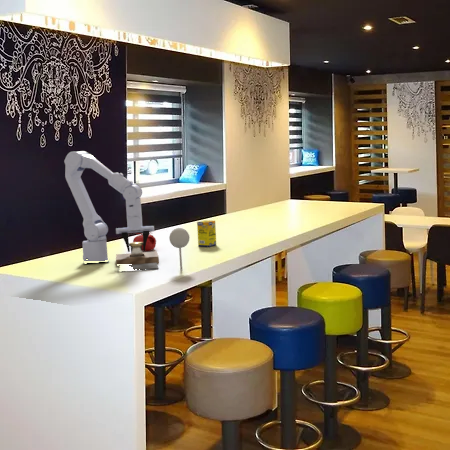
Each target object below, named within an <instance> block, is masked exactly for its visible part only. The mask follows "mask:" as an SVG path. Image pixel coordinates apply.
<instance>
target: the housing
mask: <svg viewBox="0 0 450 450" xmlns="http://www.w3.org/2000/svg"><path fill="white" fill-rule="evenodd" d="M142 253H143V256H140V257H131V252H128V253H117V254H116V255H115V264H145V263H157V264H159V263H160V256H159V254H158V252H157V250H156V251H142Z"/></svg>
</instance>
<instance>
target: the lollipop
mask: <svg viewBox="0 0 450 450" xmlns="http://www.w3.org/2000/svg"><path fill="white" fill-rule="evenodd" d="M169 242H170V244H171V246H173V247H174V248H176V249H178V253H179V266H180V271H183V261H182V260H183V259H182V248H185V247H186V246H187V245H188V244H189V242H190V234H189V232H188V231H187V230H186V229H184V228H183V227H178V228H174V229H172V231H171V232H170V234H169Z"/></svg>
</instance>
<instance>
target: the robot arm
mask: <svg viewBox="0 0 450 450" xmlns="http://www.w3.org/2000/svg"><path fill="white" fill-rule="evenodd" d="M63 162H64V165H65V170H64V171H65V174H64V175H65V176H64V177H65V180H66V182H67V185H68V187H69V188H70V191H71V193H72V196H73V198H74V200H75V203H76V205H77V207H78V209H79V212H80V213H81V216H82V218H83V219H82V220H83V221H82V226H83V233H84V237H85V238H86V239H87V240H83V241H82V259H83V262H84V261H105V260H108V258H109V257H108V246H107V245H108V243H107V236H106V235H107V234H108V232H109V227H108V225H107V223H105V222H104V220H103V218H102V217H101V216H100V215H98V213H97V212H96V209H95V206H94V205H93V203H92V200H91V198H90V196H89V193H88V191H87V189H86V186H85V184H84V182H83V180H82V177H81V176H82V174H83V172H84V171H85V169H91V170H93V171H95V172H96V173H97V174H99V175H100V176H102V177H103V178H104V179H107V182H108V185H109V186H111V187H112V188H113V189H115V190H116V191H117V192H119V193H120V194H122V197H123V199H124V200H125V208H126V222H127V223H126V224H127V227H118V228H117V227H116V228H115V234H116V235H119V234H121V238H123V242H124V243H125V245H126V248H127V252H128V253H131V247H130V246H129V243H130V242H129V234H131V233H133V234H134V233H142V234H143V251H142V252H146V251H145V247H146V242H147V239H148V236H149V233H150V232H151V233H153V232H155V225H143V215H142V200H141V197H142V194H143V190H142V187H141V186H140V185H139V184H135V183H134V182H133V181H132V180H129V179H127V178H126V177H124V174H123V173H122V172H120V173H119V172H113V171H112V170H111V169H109V168H108V167H107V166H105V165H104V164H103V163H101V161H99V160H98V159H97V158H96V157H94V155H92V154H91V153H89V152H87V151H85V150H80V151H74V150H73V151H70V152H68V153H67V155H66V156H65V159H64V161H63ZM86 259H88V260H86Z"/></svg>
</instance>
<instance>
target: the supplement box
mask: <svg viewBox="0 0 450 450" xmlns="http://www.w3.org/2000/svg"><path fill="white" fill-rule="evenodd" d="M196 224H197V226H196V227H197V228H196V229H197V243H198V244H197V245H198V248H199V247H200V248H210V247H215V246H216V245H217V233H216V232H217V231H216V230H217V229H216V220H200V221H197V222H196Z"/></svg>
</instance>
